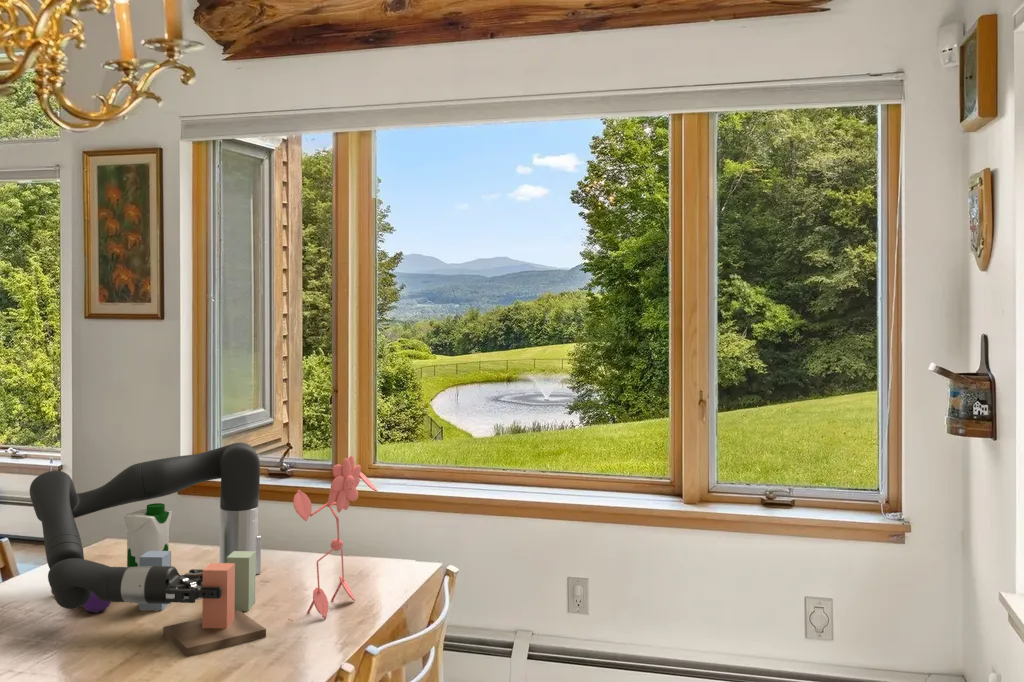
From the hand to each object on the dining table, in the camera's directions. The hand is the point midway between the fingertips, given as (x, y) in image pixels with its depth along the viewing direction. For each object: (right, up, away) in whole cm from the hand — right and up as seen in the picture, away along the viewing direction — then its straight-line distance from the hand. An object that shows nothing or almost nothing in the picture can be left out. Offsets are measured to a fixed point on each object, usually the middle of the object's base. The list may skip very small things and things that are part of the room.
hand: (228, 585), depth 172 cm
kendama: (-39, -9, +15) cm, 42 cm away
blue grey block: (-21, -9, +14) cm, 27 cm away
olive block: (-2, -9, +15) cm, 18 cm away
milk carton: (-29, -9, +27) cm, 41 cm away
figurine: (+22, -10, +13) cm, 27 cm away
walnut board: (-2, -10, -2) cm, 10 cm away
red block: (-2, -8, 0) cm, 8 cm away
